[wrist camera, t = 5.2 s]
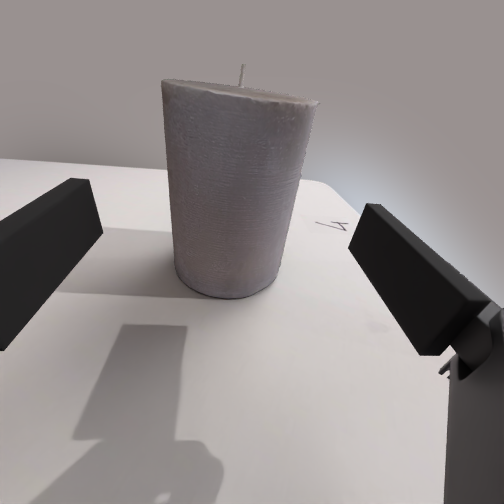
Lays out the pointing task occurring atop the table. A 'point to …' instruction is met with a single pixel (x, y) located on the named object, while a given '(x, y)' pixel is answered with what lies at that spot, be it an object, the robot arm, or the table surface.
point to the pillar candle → (232, 181)
